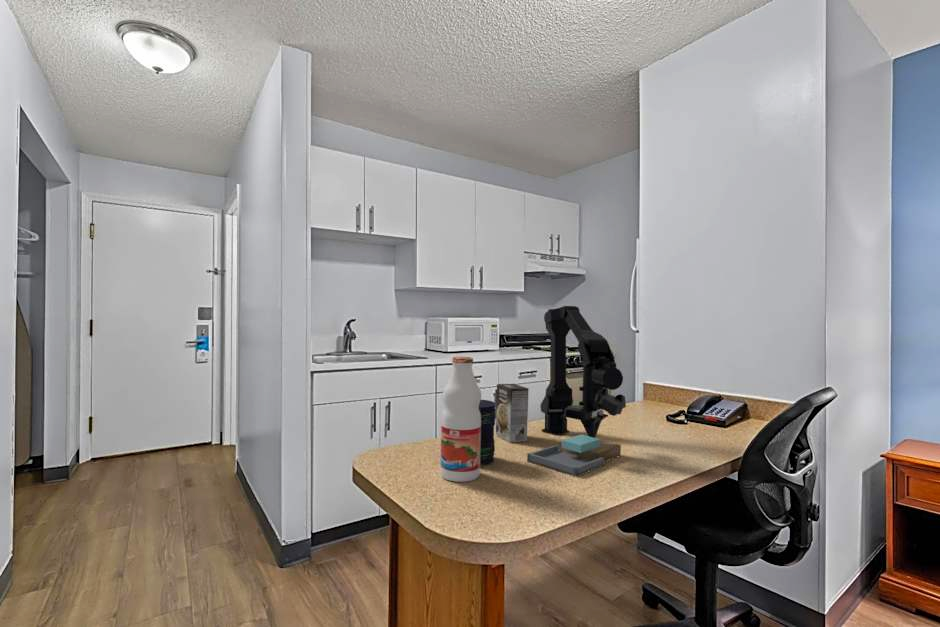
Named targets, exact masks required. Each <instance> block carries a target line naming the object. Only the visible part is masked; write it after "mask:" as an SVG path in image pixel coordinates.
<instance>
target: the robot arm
mask: <svg viewBox="0 0 940 627" xmlns="http://www.w3.org/2000/svg"><path fill="white" fill-rule="evenodd" d="M543 320H544V323H545V329H546V331H547V332H548V334H549V337H550V382H549V384H548V385H547V387H546V389H545V395H544V398H543V399H542V402H540V412H542V413H543V414H544V428H542V429H541V431H542V432H545V433H549V434H553V435H558V436H559V435H562V434H566V433H569V431H570V430H569V429H568V418H569V419H573V420H578V421H580V422H581V424H582V426H583V428H584V431H585V432H586V436H589V437H593V438H597V433H598V431H599V428H600V425H601V423H602V421H603V420H605V419H606V418H608V417H609V415H610V416H613V417H614V416H617V415H621V414H622V411H623V409H624V408H626V407H627V405H626V403H627V402H626V397H625V395H623V394H622V393H620V394H616V395H614V394H613V395H610V394H609V390H611V391H614V390H618V389H619V388H620V387H621V386H622V384H623V382H624V376H623V374H622V371H621V370H620V369H619V368H617V363H616V360H615V356H614V354H613V352H612V349H611V346H610V343H609V342H608V340H607V339H606V338H605V337H604V336H602V334H600V333H597V332H596V331H594V330H593V329H592V328H591V326H590V325H589V323H588V322H587V321H586V319H585V317H584V316H583V315H582V314H581V311H580V308H579V307H578V306H576V305H563V306H561V307H557V308H548V310H547V311H546V312H545V313H544V315H543ZM570 331H572V333H573V335H574V336H575V338H576V339H577V341H578V344H577V350H578V352H579V354H580V356H581V358H582V360H581V361H580V366H582V386H579V391H581V392H582V394H581V395H582V396H581V397H582V398H581V399H582V400H581V401H579V402H578V405H576V404H574V398H573V389H572V387H570V386H569V384H568V383H567V336H568V334H569V333H570ZM604 411H605V412H606V413H607V414H605V412H604ZM608 414H609V415H608Z"/></svg>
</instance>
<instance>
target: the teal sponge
mask: <svg viewBox="0 0 940 627" xmlns="http://www.w3.org/2000/svg"><path fill="white" fill-rule="evenodd" d="M600 440H601V439H600V438H598V437H595V438H593V437H589V436H588V435H586V434H579V435H576V436H571V437H568V438H565V439H561V442H562V448H565V449H568V450H572V451H575V452H579V453H582V452H585V451H588V450H591V449H594V448H597V447H600Z"/></svg>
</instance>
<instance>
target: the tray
mask: <svg viewBox="0 0 940 627" xmlns="http://www.w3.org/2000/svg"><path fill="white" fill-rule="evenodd" d="M526 454H527V455H526V459H527V460H526V461H527V462H529V463H531V464H533V465H537V466H541V467H543V466H544V468H547V469H551V470H553V471H557V472H559V473H563V474H565V473H566V475H568V474H569V476H572V475H573V476H572V477H575V476H577V477H580V476H582V475H584V474H583V473H585V474H587V473H589V472H588V471H590V472H592V471H594V470H593V469H595V468H597V469H599V468H598V467H600V466H602V467H604V466H605V462H604V458H602V457H601V458H598V459H595V460H590V459H586V458H583V457H579V456H576V455H572V454H568V453H565V452H561V451H560V450H559V445H558V444H555V445H551V446H549V447H545V448H542V449H538V450H535V451H532V452H528V453H526ZM603 465H604V466H603ZM600 468H601V467H600ZM591 470H592V471H591ZM595 470H596V469H595ZM586 472H587V473H586ZM581 474H582V475H581ZM579 475H580V476H579Z"/></svg>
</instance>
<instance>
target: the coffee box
mask: <svg viewBox="0 0 940 627" xmlns="http://www.w3.org/2000/svg"><path fill="white" fill-rule="evenodd" d="M529 390H530V389H529V387H525V386H523V385H519V384H516V383H496V405H495V407H496V408H495V436H496V435H497V436H496V437H498V436H499V437H498V438H500V439H501V440H504V441H505V440H506V442H507V441H508V442H507V443H509V444H513V443H521V441H522V442H527V441H528V420H529V419H528V418H529V417H528V414H529ZM512 442H513V443H512Z"/></svg>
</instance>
